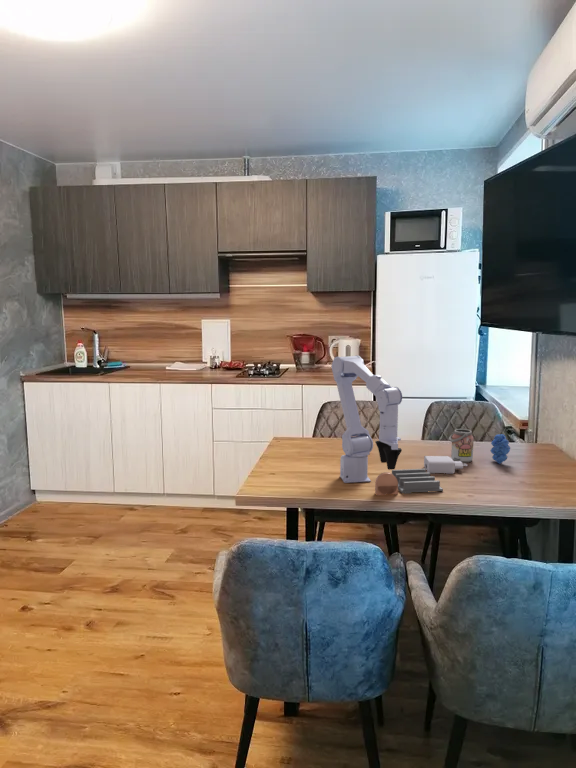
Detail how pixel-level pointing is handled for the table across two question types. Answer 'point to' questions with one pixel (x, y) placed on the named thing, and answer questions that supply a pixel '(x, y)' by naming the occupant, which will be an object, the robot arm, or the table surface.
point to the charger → (442, 464)
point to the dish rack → (416, 481)
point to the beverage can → (462, 445)
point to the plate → (386, 484)
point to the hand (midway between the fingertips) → (387, 465)
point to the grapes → (500, 448)
